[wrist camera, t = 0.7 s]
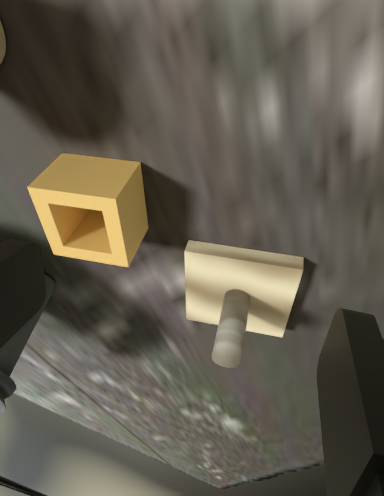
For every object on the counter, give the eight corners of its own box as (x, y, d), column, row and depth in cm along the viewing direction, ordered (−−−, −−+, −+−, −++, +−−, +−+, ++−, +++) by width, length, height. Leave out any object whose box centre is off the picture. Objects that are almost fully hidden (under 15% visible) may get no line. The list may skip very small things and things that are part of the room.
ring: (62, 153, 28) (27, 186, 24) (140, 162, 27) (115, 199, 23) (81, 217, 32) (53, 254, 29) (148, 227, 31) (128, 267, 28)
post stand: (188, 239, 31) (162, 311, 25) (303, 257, 29) (303, 337, 24) (189, 307, 38) (169, 375, 32) (282, 325, 36) (279, 400, 30)
